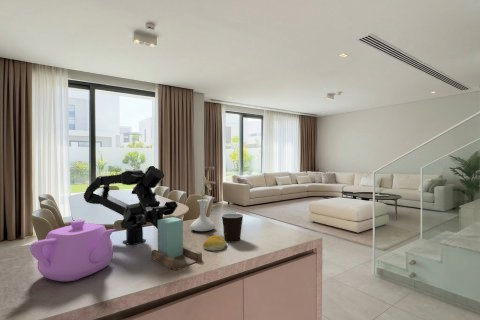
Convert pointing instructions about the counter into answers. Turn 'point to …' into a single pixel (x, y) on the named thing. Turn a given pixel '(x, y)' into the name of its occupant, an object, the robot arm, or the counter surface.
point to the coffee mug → (232, 226)
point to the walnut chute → (177, 258)
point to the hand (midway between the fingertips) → (161, 230)
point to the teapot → (73, 251)
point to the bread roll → (214, 243)
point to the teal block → (170, 236)
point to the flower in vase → (203, 213)
